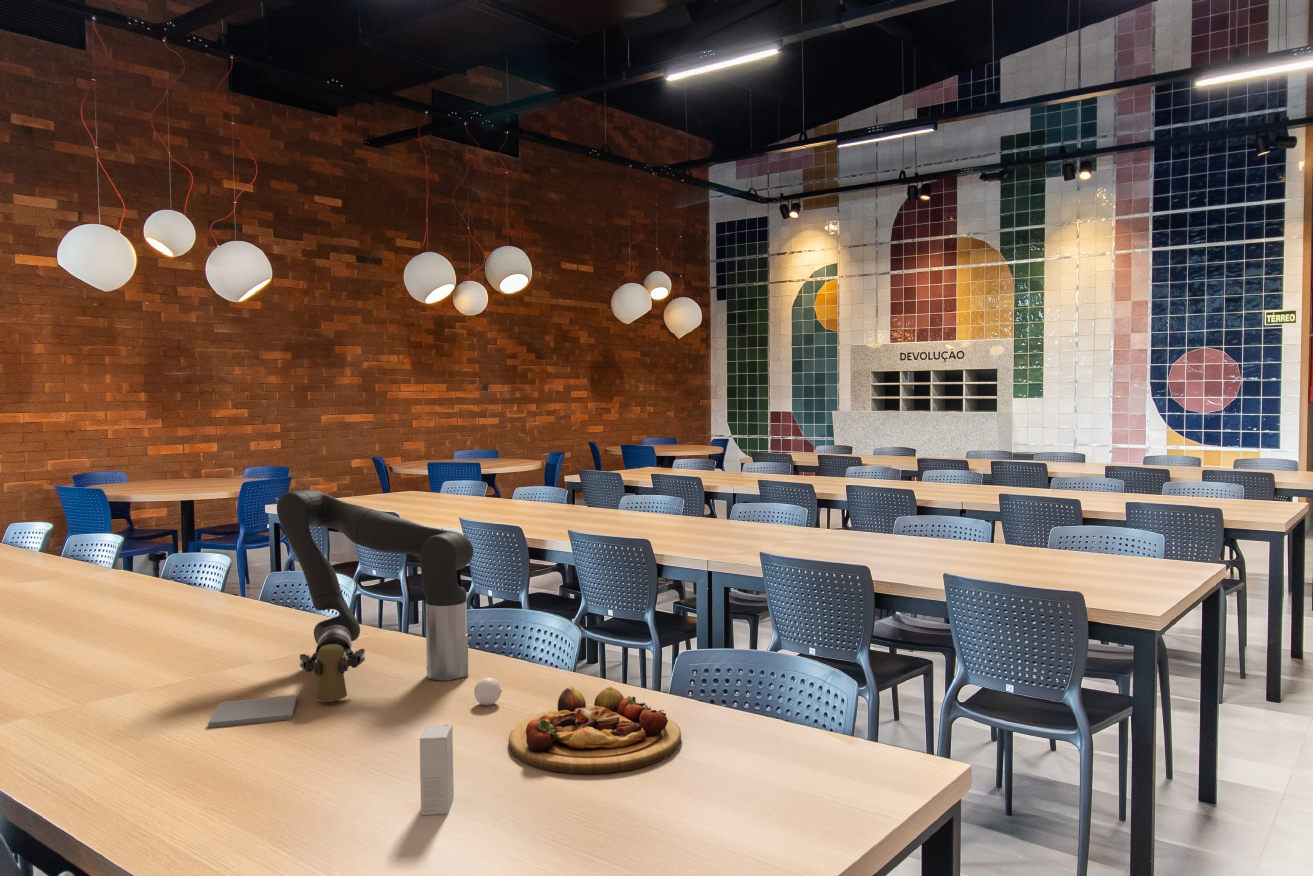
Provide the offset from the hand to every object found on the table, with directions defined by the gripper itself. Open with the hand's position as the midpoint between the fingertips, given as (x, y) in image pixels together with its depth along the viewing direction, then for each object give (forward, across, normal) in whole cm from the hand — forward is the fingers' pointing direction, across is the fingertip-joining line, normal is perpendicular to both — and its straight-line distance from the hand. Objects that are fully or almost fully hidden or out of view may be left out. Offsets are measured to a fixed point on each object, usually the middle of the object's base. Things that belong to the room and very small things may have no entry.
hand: (330, 669), depth 184 cm
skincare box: (+55, +18, +8) cm, 58 cm away
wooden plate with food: (+36, +48, +9) cm, 60 cm away
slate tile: (-1, -15, +8) cm, 17 cm away
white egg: (+8, +32, +8) cm, 34 cm away
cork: (-3, 0, +7) cm, 7 cm away
